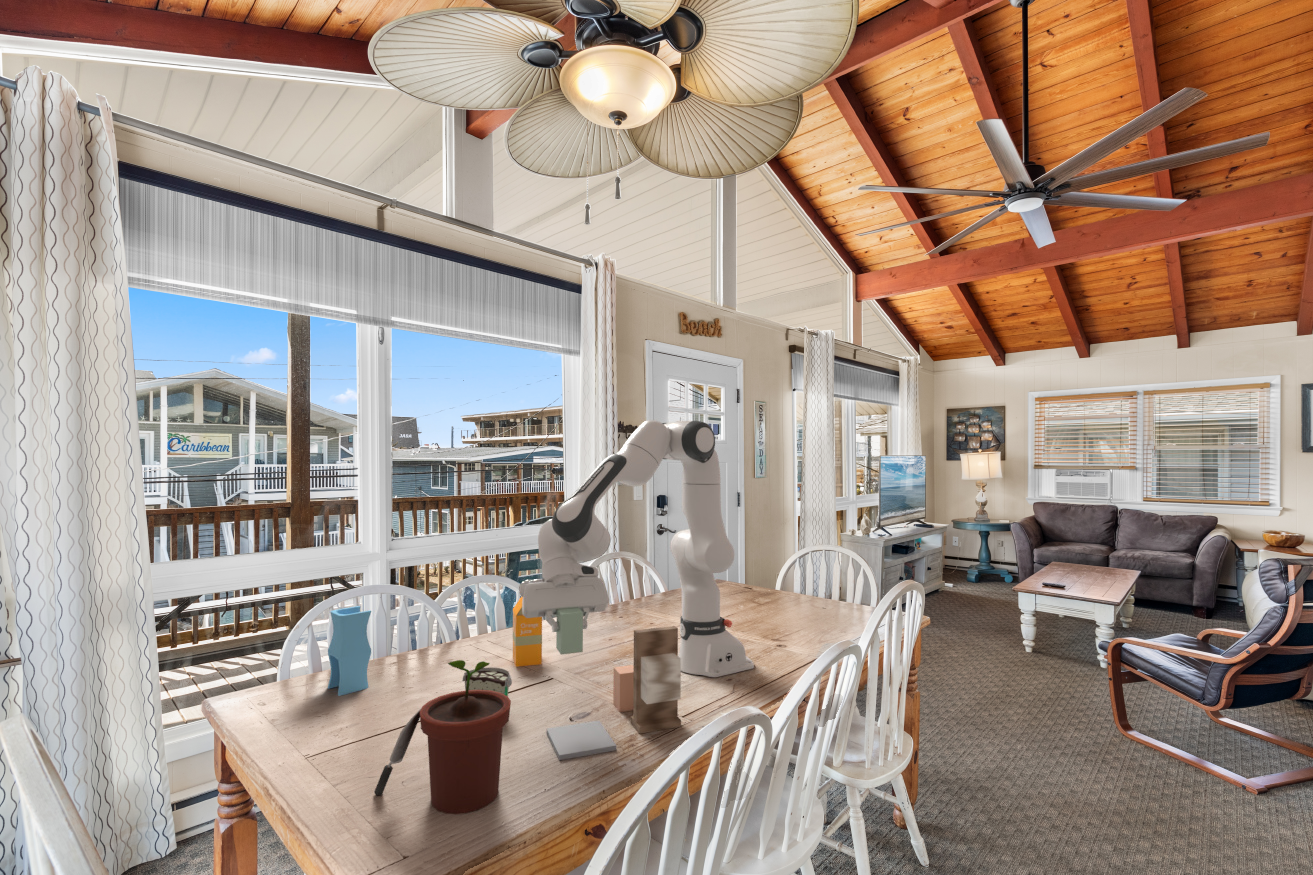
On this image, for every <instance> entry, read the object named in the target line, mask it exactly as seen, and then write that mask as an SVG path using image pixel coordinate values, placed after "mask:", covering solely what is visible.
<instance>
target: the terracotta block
mask: <svg viewBox="0 0 1313 875" xmlns="http://www.w3.org/2000/svg"><path fill="white" fill-rule="evenodd" d="M633 690H634V664H629V665H628V664H627V665H622V666H614V667H613V692H612V693H613V698H612V700H613V706H614V707H615V708H616V709H617V711H618V712H619V713H623V712H629V711H633Z"/></svg>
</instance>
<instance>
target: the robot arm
mask: <svg viewBox="0 0 1313 875" xmlns="http://www.w3.org/2000/svg"><path fill="white" fill-rule="evenodd" d="M715 447H716V436H715V432H714V430H713V428H712V427H711V426H710V425H709V424H708V423H706V422H704V421H701V420H676V421H672V422H671V421H670V422H660V421H658V420H653V419H647V420H645V421H643V422H642V423H640V425H639V426H638V427H636V429H635V430H634V431H633V432H632V433H631V434H630V436H628V438H627V439H626V440H625V442H624V443H623V444H622V447H621V448H620V450H618V451H617V453H614V454H610V455H609V456H607V457H606V458H604V459H603V460H602V461H601V462H599V465H597V466H596V468H595V469H594V470H593V471H592V472H591V473H590V475H589V476H587V478H586V479H585V480H584V481H583V482H582V483H581V484H580V486H578V488H577V489H576V490H575V491H574V492H573V493H572V494H571V496H569V497H568V498H566V499H565V500H564V501H563V502H562V503H561V504H559V505H558V506H557V508H556V509H555V511H554V513H553V516H552V518H551V519H548V520H547V521H545V522H544V523H543V524H542V525H541V527H540V528H539V531H538V538H537V542H538V544H537V546H538V554H539V558H540V561H541V562H542V563H541V564H542V566H541V574H542V576H541V577H542V578H536V579H526V580H524V581H522V582H521V583H520V584H519V585H518V590H519V591H518V592H519V595H520V596H522V597H523V600H522V613H523V615H524V616H525V617H526V618H534V617H542V618H543V617H545V621H546V622H547V624H548V625H550V626H551V631H552V632H551V633H555V632H559V630H560V626H559V621H557V620H555V619H554V618H553V617H555V616H556V617H557V610H558V609H569V608H579V609H580V610H581V611H582V612H583V630H587V629H588V618H589V615H590V613H599V612H605V611H606V610H607V608H608V605H609V602H610V599H609V595H608V591H607V588H606V586H605V583H604V581H603V580H602V579H601V578H599V569H598V568H597V567H594V566H589V565H585V564H583V563H587V562H590V561H591V562H592V561H594V560H597V559H598V558H601V557H602V556H603V555H604V554H606V552H608V550H609V547H610V545H611V534H610V532H609V531H608V529H607V528H606V526H605V525H604V524H603V522H602V521H601V520H600V519H599V518H598V517H597V515H596V513H595V511H596V506H597V504H599V502H600V501H601V500H602V499H603V497H604V496H605V495H606V494H607V492H608V491H609V490H610V489H611V488H612V487H613V486H614V485H615V484H617V483H620V484H623V485H625V486H628V487H640V486H644V485H646V484H647V483H648V482H649V481H650V480H651V479H652V478H653V477H654V475H655V473H656V471H657V470H658V468H659V466H660V464H662V461H663V460H672V461H680V462H681V464H682V467H683V471H682V490H681V491H682V498H681V499H682V506H681V508H682V512H683V514H684V516H685V518H686V521H687V524H688V529H687V528H686V529H681V530H679V531H678V532H676V533H675V534H674V535H673V536H672V538H671V541H670V552H671V554H672V556H673V557H674V560H675V563H676V567H677V568H676V569H677V572H678V573H677V574H678V577H679V582H680V587H681V588H680V590H681V616H680V618H679V619H680V622H679V623H680V624H679V632H680V633H679V636H680V645H679V650H678V657H680V658H681V672H682V673H687V674H690V675H696V676H697V675H698V676H699V675H700V676H705V677H709V678H718V677H722V676H726V675H731V674H735V673H739V672H744V671H748V670H753V669H755V663H754V662H753V660H752V659H751V658H750V657H748V656H747V654H746V649H745V645H744V644H743V643H742V642H741V640H739V638H737V637H736V636H735V635H733V634H732V633H731V632H730V631H729V630H727V629H726V627H727V628H732V626H733V622H732V620H730V619H727V618H726V619H725V618H724V617H722V616H721V591H720V588H719V585H718V584H717V582H716V580H715V576H714V574H719V573H723V572H724V573H725V572H727V571H728V570H729V569H730V568H731V566H733V563H734V560H735V549H734V546H733V545H732V543H731V541H730V540H729V538H728V536H727V532H726V529H725V526H724V525H725V524H724V520H723V516H722V507H721V503H722V502H721V471H720V470H721V469H720V467H721V466H720V462H719V457H718V453H717V451H716V450H715Z"/></svg>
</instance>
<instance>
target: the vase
mask: <svg viewBox="0 0 1313 875" xmlns="http://www.w3.org/2000/svg"><path fill="white" fill-rule="evenodd" d="M371 613H372V610H370V609H369V610H364V611H361V606H360V605H357V606H350V607H345V608H339V609H338V608H337V609H334V610H330V616H331V620H332V630H333V631H332V636H331V641H330V644H329V647H328V648H327V655H328V660H329V664H330V675H329V681H328V684H327V689H333V688H336V687H338V691H337V697H338V696H339V697H341V696H345V695H348V694H353V693H357V692H359V691H364V690H366V689H368V688H370V687H369V681H368V680H369V679H368V668H369V667H368V666H369V662H370V659H371V655H372V648H371V646H370V643H369V640H368V632H367V631H368V623H369V620H370V617H371Z"/></svg>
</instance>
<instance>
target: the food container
mask: <svg viewBox="0 0 1313 875" xmlns="http://www.w3.org/2000/svg"><path fill="white" fill-rule="evenodd" d="M473 671H474V669H469V672H470V673H471V672H473ZM462 676H463V677H462V682H464V691H465V690H466V685H467V672H466V671H464V674H463V675H462ZM512 684H513V680H512V675H511V674H510V672H509V671H508V670H507V669H505V668H500V667H492V666H491V667H484V668H482V669H480V670H479V671H477V672H475V673H473V674H472V675H471V677H470V682H469V690H490V691H495V692H500V693H502V694H504V695H506V696H508V697H509V688H510V687H511V686H512Z"/></svg>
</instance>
